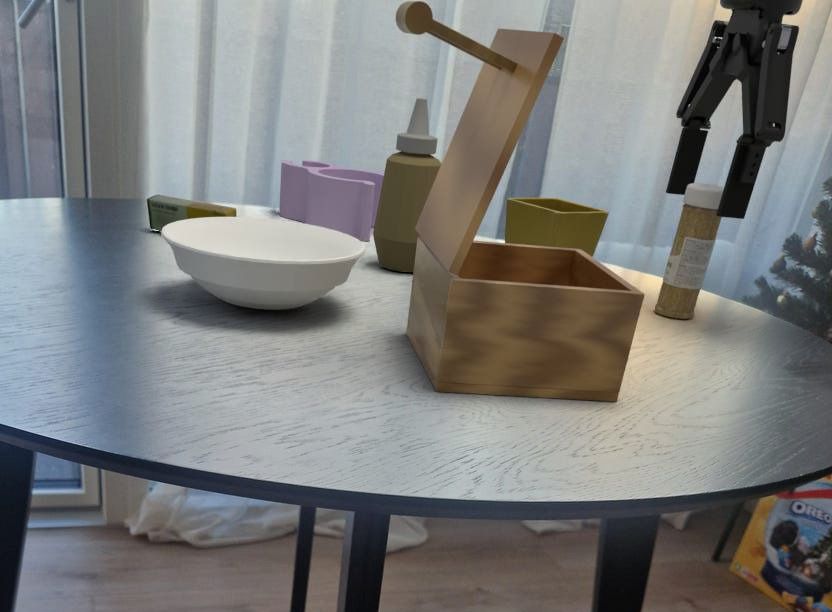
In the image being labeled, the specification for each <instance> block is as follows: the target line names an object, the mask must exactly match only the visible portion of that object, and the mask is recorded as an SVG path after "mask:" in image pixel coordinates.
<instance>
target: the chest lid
mask: <svg viewBox="0 0 832 612" xmlns="http://www.w3.org/2000/svg"><path fill="white" fill-rule="evenodd" d="M395 23H396V26H397V28H398V29H399V30H400V31H401V32H402V33H404V34H410V35H416V36H417V35H418V36H420V35H423V34H428V35H430V36H432V37H434V38H435V39H438V40H440V41H442V42H444V43H446V44H448V45H450V46H452V47H453V48H456V49H457V50H459V51H461V52H464V53H465V54H467V55H469V56H471V57H473V58H475V59H477V60H479V61H481V62H483V64H482V66H481V68H480V70H479V73H478V76H477V78H476V80H475V82H474V85H473V87H472V90H471V92H470V95H469V97H468V100H467V101H466V104H465V107H464V109H463V111H462V114H461V116H460V119H459V120H458V124H457V126H456V128H455V130H454V133H453V136H452V138H451V141H450V142H449V145H448V147H447V150H446V153H445V154H444V157H443V159H442V162H441V163H442V164H441V167H440V169H439V172H438V174H437V176H436V179H435V181H434V184H433V186H432V188H431V191H430V193H429V196H428V198H427V200H426V203H425V205H424V208H423V210H422V213H421V215H420V217H419V220H418V222H417V225H416V227H415V230H416V231H417V232H418V233H419V235H420V236H421V237H422V239H423V240H424V241H425V242H426V244H427V245H428V246H429V247H430V249H431V250H432V251H433V252H434V254H435V255H436V256H437V257H438V259H439V260H440V261H441V262H442V264H443V265H444V266H445V267H446V269H447V270H448V271H449V272H451V273H453V274H455V275H458V274H459V271H460V269H461V267H462V265H463V262H464V260H465V258H466V256H467V253H468V251H469V249H470V247H471V245H472V242H473V241H475V238H476V237H477V233H478V231H479V229H480V227H481V224H482V222H483V220H484V219H485V215H486V213H487V211H488V209H489V207H490V204H491V202H492V200H493V198H494V196H495V194H496V191H497V189H498V186H499V184H500V182H501V180H502V177H503V176H504V173H505V171H506V169H507V166H508V164H509V162H510V160H511V157H512V156H513V154H514V151H515V149H516V147H517V144H518V142H519V140H520V137H521V135H522V133H523V132H524V128H525V127H526V124H527V122H528V120H529V118H530V115H531V113H532V111H533V109H534V106H535V104H536V102H537V100H538V99H539V95H540V93H541V91H542V89H543V86H544V85H545V82H546V80H547V78H548V75H549V73H550V71H551V69H552V66H553V64H554V62H555V60H556V58H557V55H558V53H559V51H560V49H561V47H562V44H563V42H564V40H565V37H564V36H562V35H560V34H558V33H557V32H551V31H550V32H549V31H537V30H524V29H512V28H511V29H510V28H497V30H496V32H495V35H494V37H493V39H492V42H491V44H490V46H489V47H488V46H486V45H484V44H482V43H480V42H478V41H477V40H474V39H473V38H471V37H469V36H467V35H465V34H463V33H461V32H459V31H457V30H455V29H453V28H451V27H449V26H447V24H444V23H441V22H439V21H438V20H436V19H434V15H433V11H432V7H430V5H429V4H428V3H427V2H425V1H422V0H413V1H412V0H411V1H409V0H408V1H404V2H402V3H401V4H400V5H399V6H398V8H397V10H396V13H395Z"/></svg>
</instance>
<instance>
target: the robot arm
mask: <svg viewBox="0 0 832 612" xmlns="http://www.w3.org/2000/svg"><path fill="white" fill-rule="evenodd" d="M803 2H804V0H719V4H720V6H721V7H722V8H723V9H726V10H731V15H730V17H729V20H728V21H727V20H718V19H715V20H714V21H713V22H712V25H711V28H710V30H709V35H708V37H707V41H706V44H705V46H704V49H703V51H702V53H701V55H700V58H699V60H698V63H697V65H696V66H695V70H694V72H693V74H692V75H691V78H690V80H689V82H688V85H687V87H686V89H685V92H684V94H683V95H682V98H681V100H680V103H679V104H678V108H677V110H676V113H675V116H676V118H677V119H681V121H680V126H681V127H682V128H681V132H680V135H679V139H678V144H677V147H676V150H675V151H676V152H675V154H674V159H673V163H672V165H671V166H672V167H671V170H670V174H669V179H668V182H667V185H666V190H665V193H666V194H668V195H680V196H684V195H685V192H686V188H687V186H688V185H689V184H692V183H695V181H696V177H697V173H698V170H699V167H700V163H701V159H702V157H703V152H704V149H705V145H706V141H707V138H708V134H709V130H711V129H712V125H711V118H712V117H713V115H714V113H715V112H716V111H717V109H718V107H719V105H720V104H721V102H722V101H723V99H724V98H725V96H726V95H727V93H728V91H729V90H730V88H731V87H732V85H733V83H734V82H735V81H739V82H740V85H741V111H742V112H741V114H742V134H740V135H739V137H738V138H737V140H736V141H735V142H736V145H735V149H734V153H733V157H732V160H731V163H730V166H729V170H728V174H727V177H726V179H725V183H724V186H723V187H724V190H723V193H722V197H721V200H720V204H719V207H718V210H717V214H716V215H717V216H719V217H722V218H730V219H741V220H744V219H745V217H746V214H747V210H748V208H749V204H750V200H751V197H752V195H753V191H754V188H755V185H756V181H757V179H758V175H759V172H760V169H761V165H762V162H763V159H764V156H765V153H766V151H767V148H770V147H771V145H772V144H773V143H775V142H777V143H780V142H782V141H783V139H784V138H785V135H786V128H787V127H786V126H787V119H788V118H787V117H788V107H789V98H790V88H791V78H792V69H793V68H792V67H793V57H794V52H795V48H796V45H797V40H798V36H799V33H800V27H799V25H795V24H788V23H783V18H784V16H795V15H797V14H799V12H800V10H801V8H802V5H803Z"/></svg>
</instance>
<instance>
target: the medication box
mask: <svg viewBox="0 0 832 612" xmlns="http://www.w3.org/2000/svg"><path fill="white" fill-rule="evenodd" d="M146 204H147V205H146V206H147V213H148V222H149V229H150V228H151V229H156V230H159V231H162V229H163V227H164V226H166V225H167V224H170V223H173V222H176V221H180V220H186V219H193V218H203V217H238V216H237V208H236V207H231V206H225V205H219V204H215V203H208V202H202V201H197V200H191V199H186V198H185V199H184V198H179V197H175V196H174V197H173V196H168V195H162V194H155V195H151V196H150V197H148V198H146Z"/></svg>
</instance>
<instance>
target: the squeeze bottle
mask: <svg viewBox="0 0 832 612" xmlns="http://www.w3.org/2000/svg"><path fill="white" fill-rule="evenodd" d="M429 124H430V123H429V109H428V99H427V98H418V97H417V98H416V100H415V103H414V106H413V110H412V113H411V117H410V120H409V123H408V126H407V130H406V131H405V132H399V133H397V135H396V143H395V144H396V145H395V150H397V151H398V152H395V153H392V154H391V155H390V156H388V157H387V158H386V161H385V162H386V163H385V167H384V173H383V174H384V177H383V182H382V188H381V193H380V198H379V204H378V209H377V214H376V220H375V225H374V227H373V230H372V235H373V241H374V247H375V251H376V257H377V262H378V265H379V266H381V267H383V268H385V269H388V270H391V271H394V272H399V273H400V272H401V273H414V264H415V256H416V248H417V240H418V236H420V235H419V233H418V232H417V231H416V230H415V227H416V225H417V222H418V220H419V217H420V215H421V213H422V210H423V208H424V205H425V203H426V200H427V198H428V196H429V193H430V191H431V188H432V186H433V184H434V181H435V179H436V176H437V174H438V172H439V169H440V167H441V164H442V162H441V161H440V159H438V158H437V157H435V156H434V155H435V154H437V147H438V137H436V136H433V135H430V125H429Z"/></svg>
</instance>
